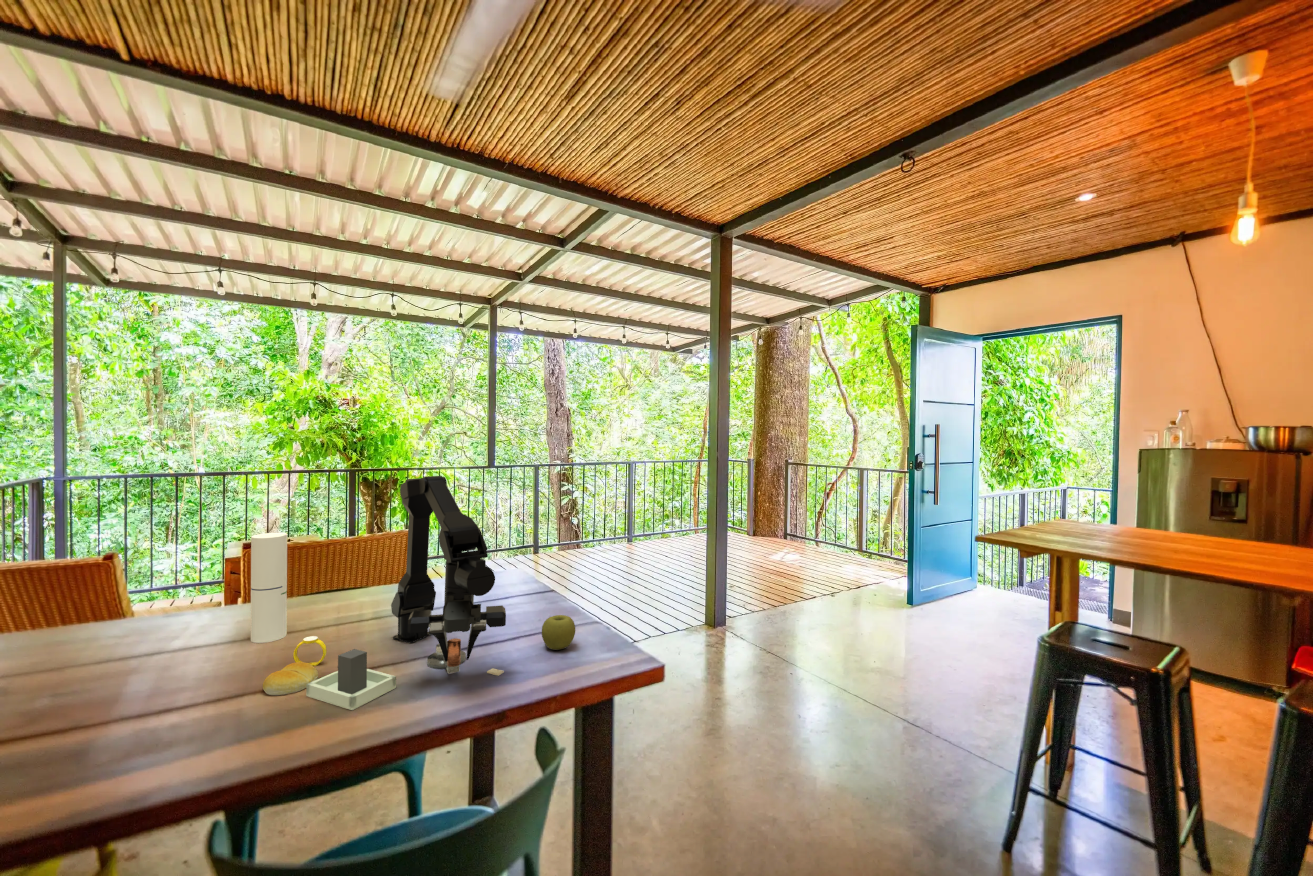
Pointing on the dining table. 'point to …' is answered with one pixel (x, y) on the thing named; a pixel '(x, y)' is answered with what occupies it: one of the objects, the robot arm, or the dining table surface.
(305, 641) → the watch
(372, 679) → the tray
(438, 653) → the crank
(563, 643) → the apple
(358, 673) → the dark gray rectangular block
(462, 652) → the hub plate
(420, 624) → the robot arm
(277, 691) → the bread roll
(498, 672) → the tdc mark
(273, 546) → the cylindrical container
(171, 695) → the dining table surface
